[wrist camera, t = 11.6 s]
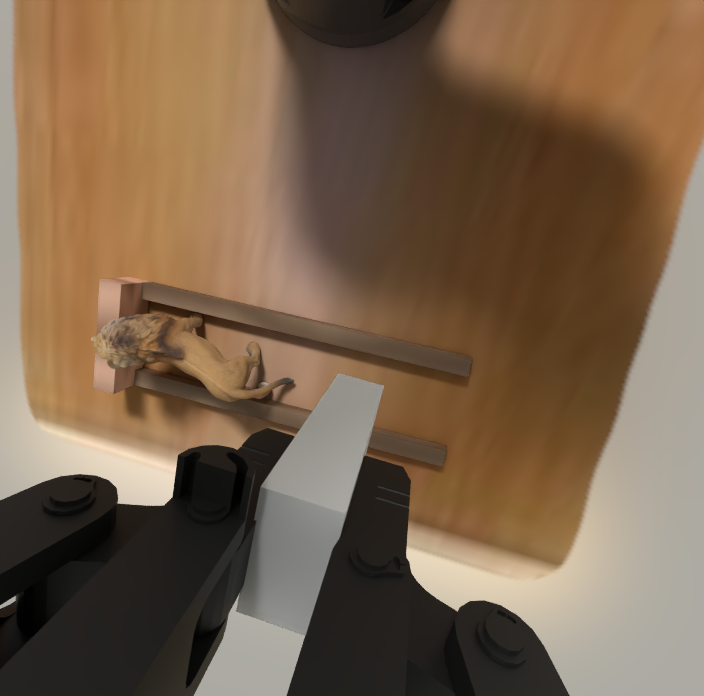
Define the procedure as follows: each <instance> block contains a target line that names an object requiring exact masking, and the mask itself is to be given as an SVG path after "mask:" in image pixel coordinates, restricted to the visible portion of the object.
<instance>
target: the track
mask: <svg viewBox="0 0 704 696" xmlns="http://www.w3.org/2000/svg"><path fill="white" fill-rule="evenodd" d="M149 301H153V302H157V303H161V304H166V305H170V306H174V307H178V308H182V309H186V310H191V311H195V312H199V313H203V314H207V315H211V316H216V317H220V318H224V319H228V320H232V321H236V322H241V323H245V324H249V325H253V326H257V327H261V328H266V329H270V330H274V331H278V332H282V333H286V334H291V335H295V336H299V337H303V338H307V339H311V340H316V341H320V342H324V343H328V344H332V345H336V346H341V347H345V348H349V349H353V350H357V351H361V352H366V353H370V354H374V355H378V356H382V357H387V358H391V359H395V360H399V361H403V362H407V363H412V364H416V365H420V366H424V367H428V368H432V369H437V370H441V371H445V372H449V373H453V374H457V375H462V376H466V377H468V375H469V372H470V368H471V365H472V361H473V359H472V357H470V356H465V355H461V354H457V353H453V352H448V351H444V350H440V349H436V348H431V347H427V346H423V345H419V344H414V343H410V342H406V341H402V340H397V339H393V338H389V337H384V336H380V335H376V334H372V333H367V332H363V331H359V330H355V329H350V328H346V327H342V326H338V325H333V324H329V323H325V322H320V321H316V320H312V319H308V318H303V317H299V316H295V315H291V314H286V313H282V312H278V311H274V310H269V309H265V308H261V307H256V306H252V305H248V304H244V303H239V302H235V301H231V300H227V299H222V298H218V297H214V296H210V295H205V294H201V293H197V292H192V291H188V290H184V289H180V288H175V287H171V286H167V285H163V284H158V283H154V282H150V281H146V280H141V279H137V278H133V277H126V278H111V279H100V284H99V301H98V318H97V335H98V333H99V332H100V331H101V329H102V328H103V327H104V326H105V325H106V324H108V323H109V322H110V321H112V320H117V319H119V318H122V317H130V316H134V315H138V314H140V315H143V314H148V306H149ZM133 385H136V386H140V387H143V388H147V389H151V390H155V391H158V392H162V393H166V394H170V395H174V396H177V397H181V398H185V399H189V400H192V401H196V402H200V403H204V404H207V405H211V406H215V407H219V408H223V409H226V410H230V411H234V412H238V413H241V414H245V415H249V416H253V417H257V418H260V419H264V420H268V421H272V422H275V423H279V424H283V425H287V426H291V427H294V428H298V429H301V427H302V426H303V424H304V423H305V421H306V420H307V418H308V417H309V415H310V414H311V413H312V411H310V410H306V409H302V408H299V407H295V406H291V405H287V404H283V403H279V402H275V401H272V400H268V399H264V398H261V399H257V398H250V399H239V400H236V401H233V402H227V401H224V400H221V399H218V398H216V397H215V396H213V395H212V394H211V393H210V391H209V390H208V389H207V388H206V386H205V385H204V384H203V383H202V382H198V381H194V380H190V379H187V378H183V377H179V376H175V375H171V374H167V373H163V372H160V371H156V370H152V369H148V368H144V367H143V364H142V365H131V366H130V365H129V366H128V367H126V368H124V367H119V368H116V369H112V368H110V367H109V366H108V364H107V359H102V358H101V357H99V354H98V353H97V349H96V352H95V369H94V386H93V389H96V390H100V391H104V392H107V393H111V394H115V393H117V392H119V391H122V390H124V389H126V388H128V387H131V386H133ZM368 447H370V448H374V449H377V450H381V451H385V452H389V453H392V454H396V455H400V456H404V457H408V458H411V459H415V460H419V461H423V462H426V463H430V464H434V465H438V466H442V467H443V463H444V460H445V456H446V453H447V450H446V446H445V445H441V444H437V443H434V442H430V441H426V440H422V439H418V438H414V437H410V436H407V435H403V434H399V433H395V432H391V431H387V430H383V429H380V428H376V427H373V429H372V433H371V437H370V441H369V444H368Z"/></svg>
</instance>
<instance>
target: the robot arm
mask: <svg viewBox="0 0 704 696" xmlns="http://www.w3.org/2000/svg"><path fill="white" fill-rule="evenodd" d="M276 1H277V2H278V4H279V6H280V7H281V8H282V10H283V11H284V13H285V14H286V15H287V16H288V17H289V19H290V20H291V21H292V22H293V23H294V24H295V25H296V26H298V27H299V28H300V29H301V30H303V31H304V32H305V33H307V34H308V35H310V36H312V37H314V38H316V39H318V40H320V41H322V42H325V43H328V44H331V45H336V46H342V47H363V46H369V45H373V44H377V43H380V42H383V41H386V40H388V39H391V38H393V37H395V36H397V35H398V34H400V33H402V32H403V31H405V30H406V29H408V28H409V27H411V26H412V25H413V24H414V23H416V22H417V21H418V20H419V19H420V18H421V17H422V16H423V15H424V14H425V13H426V12H427V11H428V10H429V9H430V8H431V6H432V5H433V4H434V3H435V2H436V0H276ZM383 388H384V386H383V385H380V384H376V383H372V382H369V381H365V380H362V379H358V378H354V377H351V376H347V375H344V374H340V373H338V375H337V376H336V378H335V379H334V380H333V382H332V383H331V385H330V386H329V388H328V389H327V391H326V392H325V394H324V395H323V396H322V398H321V399H320V401H319V402H318V404H317V405H316V407H315V408H314V410H313V411H312V413H311V414H310V415H309V417H308V418H307V420H306V421H305V423H304V424H303V426H302V427H301V429H300V430H299V431H298V433H297V434H296V436H292V435H289V434H286V433H282V432H279V431H276V430H272V429H269V428H267V429H264V430H262V431H259V432H257V433H255V434H252V435H251V436H250V437H249V438H248V439H247V440H246V441H245V443H244V444H243V445H242V447H240V448H239V449H238V450H236V449H234V448H230V447H225V446H219V445H207V446H199V447H195V448H191V449H188V450H186V451H185V452H183V453H181V454H179V455H178V460H177V468H176V475H175V483H174V491H173V497H172V498H171V499H170V500H169V501H168V502H167V503H166V504H165V505H164V506H142V505H129V504H117V502H118V495H117V488H116V487H115V486H114V485H113V484H112V483H111V482H110V481H109V480H106V479H103V478H101V477H98V476H93V475H82V474H78V475H69V476H61V477H58V478H54V479H51V480H48V481H45V482H42V483H40V484H37V485H35V486H33V487H30V488H28V489H26V490H24V491H21V492H19V493H17V494H14V495H12V496H10V497H7V498H5V499H3V500H0V605H1V604H3V603H4V602H6V601H8V600H9V599H11V598H12V597H14V596H16V601H15V602H13V603H12V604H10V605H8V606H6V607H4V608H1V609H0V696H194V694H195V692H196V690H197V688H198V686H199V684H200V682H201V680H202V678H203V676H204V674H205V672H206V670H207V668H208V666H209V664H210V662H211V661H212V658H213V657H214V655H215V653H216V651H217V649H218V647H219V645H220V643H221V641H222V639H223V636H224V632H225V629H226V625H227V620H228V614H229V612H230V610H231V608H232V606H233V604H234V602H235V601H236V599H237V597H238V595H239V593H240V595H239V600H238V606H237V610H236V611H237V612H239V613H243V614H245V615H248V616H251V617H254V618H257V619H259V620H262V621H266V622H268V623H271V624H274V625H277V626H279V627H282V628H285V629H288V630H291V631H294V632H297V633H299V634H303V635H305V639H304V642H303V645H302V648H301V651H300V655H299V658H298V661H297V664H296V667H295V671H294V674H293V677H292V680H291V683H290V687H289V690H288V693H287V696H569V694H568V692H567V690H566V688H565V686H564V684H563V682H562V680H561V678H560V676H559V675H558V672H557V671H556V669H555V667H554V665H553V663H552V661H551V659H550V657H549V655H548V653H547V651H546V649H545V647H544V645H543V644H542V643H541V641H540V640H539V638H538V637H537V635H536V634H535V632H534V631H533V630H532V629H531V628H530V627H529V626H528V625H527V624H526V623H525V622H524V621H523V620H522V619H521V618H520V617H518V616H517V615H516V614H514V613H512V612H511V611H509V610H507V609H506V608H504V607H502V606H501V605H497V604H494V603H491V602H487V601H470V602H468V603H466V604H465V605H463V606H461V607H460V608H459V610H458V612H457V611H455V610H454V609H452V608H451V607H449V606H448V605H446V604H444V603H443V602H441V601H439V600H438V599H436V598H435V597H434V596H432V595H431V594H430V593H428V592H427V591H426V590H425V589H424V588H423V587H422V586H421V585H420V584H419V583H418V582H417V581H416V579H415V578H414V576H413V575H412V573H411V570H410V564H409V561H408V560H407V558H406V545H407V530H408V515H409V509H408V508H409V500H410V497H409V496H410V485H411V480H410V479H409V477H408V475H407V473H406V471H405V469H404V468H403V467H401V466H398V465H395V464H391V463H388V462H385V461H381V460H378V459H375V458H371V457H368V456H365V455H366V452H367V448H368V444H369V441H370V437H371V433H372V429H373V426H374V422H375V418H376V414H377V411H378V407H379V403H380V400H381V396H382V392H383Z"/></svg>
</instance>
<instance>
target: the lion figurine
mask: <svg viewBox="0 0 704 696" xmlns="http://www.w3.org/2000/svg"><path fill="white" fill-rule="evenodd" d="M202 322H203V318H202V315H201V314H200V313H199V312H196V313H193V314H192V315H191V316H190V318H181V319H179V320H175V319H173V318H172V317H168V316H167V315H165V314H157V315H156V314H152V313H151V314H143V315H140V314H138V315H134V316H130V317H122V318H119V319H117V320H112V321H110V322H109V323H108V324H106V325H105V326H104V327H103V328H102V329H101V331H100V332H99V333H98V335H96V336H94V337H92V338H91V341H92V342H93V343H94V347H95V348H96V349H97V353H98V354H99V357H101V358H102V359H107V364H108V366H109V367H110V368H112V369H116V368H119V367H124V368H126V367H128V366H129V365H130V366H131V365H142V364H144V363H157V362H163V363H171V364H172V365H174V366H176V367H177V368H179V369H180V370H182V371H183V372H185V373H187V374H189V375H191V376H193V377H195V378H197V379H199V380H200V381H201V382H202V383H203V384H204V385H205V386H206V388H207V389H208V390H209V391H210V393H211V394H212V395H213V396H215V397H216V398H218V399H221V400H224V401H227V402H233V401H236V400H239V399H250V398H257V399H261V398H263V397H265V396H267V395H268V394H269V393H270V392H271V390H272V389H274V388H276V387H278V386H280V385H284V384H285V385H287V384H292V383H294V380H293V379H290V378H283V379H280V380H277V381H275V382H273V383H271V384H268V383H266V382H261V383H259V384H258V389H252V388H249V387H246V386H245V385H246V383H247V381H248V379H249V377H250V373H251V370H252V368H253V367H254V366H258V365H259V364H260V347H259V345H258V344H257V343H256V342H250V343H249V344H248V346H247V348H246V350H247V352H248V353H249V354H251V356H246V357H241V356H240V357H236V358H234V359H232V360H229V361H227V360H226V359H225V358H224V357H223V355H222V354H221V353H220V351H219V350H218V349H217V348H216V347H215V346H214V345H213V344H211V343H210V342H209V341H207V340H206V339H204V338H202V337H199V336H197V335H195V334H193V333H192V330H193V328H195V327H200V326H201V324H202Z"/></svg>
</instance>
